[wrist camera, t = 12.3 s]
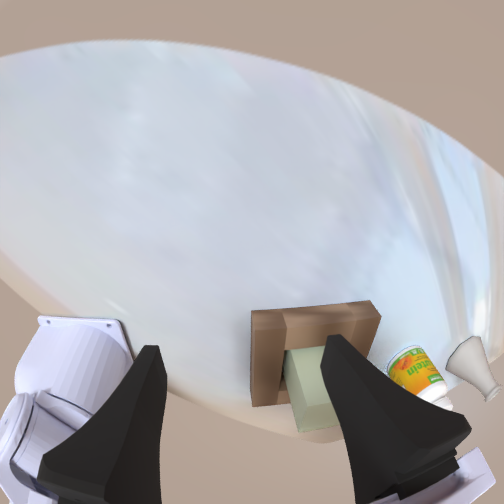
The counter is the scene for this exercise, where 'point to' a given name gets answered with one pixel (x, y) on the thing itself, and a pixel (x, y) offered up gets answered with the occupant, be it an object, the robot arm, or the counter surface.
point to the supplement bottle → (419, 376)
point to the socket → (302, 340)
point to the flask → (474, 367)
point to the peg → (308, 389)
